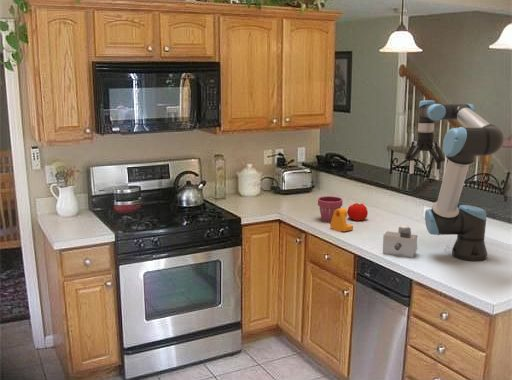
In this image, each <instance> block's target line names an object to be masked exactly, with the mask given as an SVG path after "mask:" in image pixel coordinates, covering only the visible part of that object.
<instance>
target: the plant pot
mask: <svg viewBox="0 0 512 380" xmlns="http://www.w3.org/2000/svg"><path fill="white" fill-rule="evenodd" d="M317 206H318V207H319V212H320V217H321V220H322V222H324V223H325V222H326V223H331V220H332V217H333V214H334V211H335V210H336V209H340V208H342V207H343V198H341V197H339V196H330V195H327V196H320V197H318V198H317Z"/></svg>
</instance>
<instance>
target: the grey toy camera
mask: <svg viewBox="0 0 512 380" xmlns="http://www.w3.org/2000/svg"><path fill="white" fill-rule="evenodd" d="M382 240H383V241H382V254H384V255H391V256H398V257H403V258H404V257H405V258H412V259H413V258H415V256H416V254H417V247H418V234H412V231H404V230H402V231H401V232H400V233H398V232H396V231H388V230H387V231H386V232H385V233H384V234H383V239H382Z"/></svg>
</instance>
